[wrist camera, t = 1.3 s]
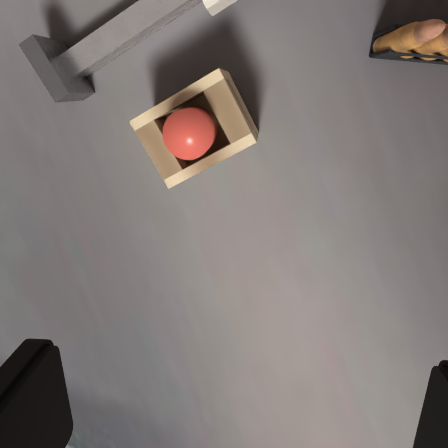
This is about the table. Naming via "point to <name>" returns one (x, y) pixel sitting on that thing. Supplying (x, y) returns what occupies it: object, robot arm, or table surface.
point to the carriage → (217, 5)
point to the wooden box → (224, 114)
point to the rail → (97, 47)
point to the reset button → (190, 132)
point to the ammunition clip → (413, 42)
